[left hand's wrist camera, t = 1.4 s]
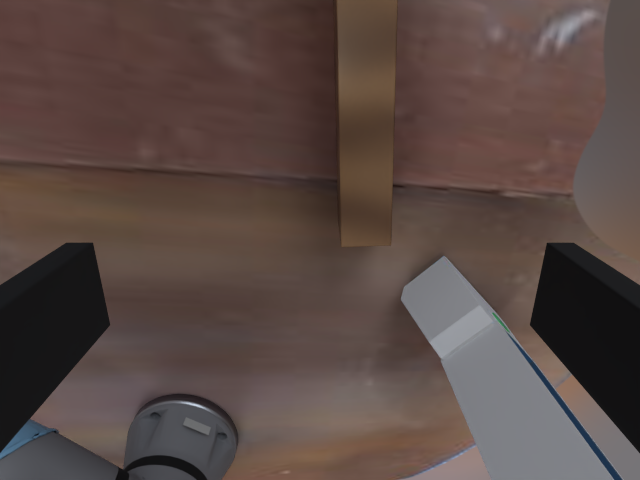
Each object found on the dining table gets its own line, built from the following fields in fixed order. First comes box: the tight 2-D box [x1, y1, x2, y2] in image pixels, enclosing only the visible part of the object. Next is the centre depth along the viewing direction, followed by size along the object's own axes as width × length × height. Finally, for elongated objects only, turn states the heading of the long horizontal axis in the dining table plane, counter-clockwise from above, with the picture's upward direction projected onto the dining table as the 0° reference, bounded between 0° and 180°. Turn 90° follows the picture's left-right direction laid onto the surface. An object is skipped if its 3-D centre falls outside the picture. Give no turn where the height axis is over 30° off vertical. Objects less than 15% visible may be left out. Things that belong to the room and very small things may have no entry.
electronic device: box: [401, 256, 624, 480], centre depth 39 cm, size 12×8×30 cm, turn 43°
